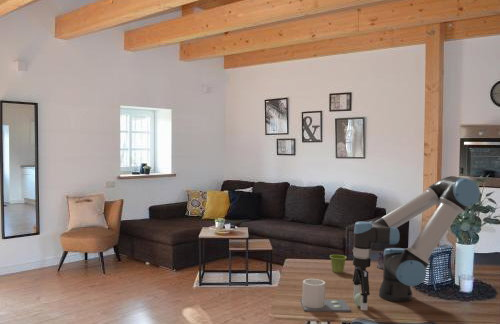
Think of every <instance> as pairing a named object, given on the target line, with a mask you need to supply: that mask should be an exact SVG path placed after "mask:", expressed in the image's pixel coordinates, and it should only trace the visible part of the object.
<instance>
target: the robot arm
mask: <svg viewBox="0 0 500 324" xmlns="http://www.w3.org/2000/svg"><path fill="white" fill-rule="evenodd" d="M480 196H481V191H480V188H479V185H478V184H477V182H475V180H473V179H470V178H469V177H460V176H453V175H451V176H446V177H443V178H441V179H439V180H438V181H436V182H434V183H433V184H431V185H430V186H428V187H426V189H425V191H423V192H421V194H419V195H417V196H416V197H414V198H412V199H410V200H408V201H407V202H405V203H404V204H402V205H400V206H398V207H397V208H395V209H393V210H392V211H390V212H389V213H387V214H385V215H383V216H382V217H379V219H377V220H371V221H360V220H359V221H356V222H355V224H354V227H353V228H354V230H353V249H352V251H351V252H353V259H352V265H353V266H354V271H353V275H352V282H353V300H354V297H355V295H356V294H358V293H361V294H360V295H361V307H360V311H368V303H369V296H370V295H371V293H370V281H369V271H367V268H370V267H371V261H372V260H371V257H372V245H389V246H390V245H397V244H398V243H399V242H400V239H401V238H400V231H399V229H398V227H400V226H402V225H404V224H405V223H407V222H410V220H412V219H414V218H416V217H417V216H419V215H421V214H422V213H424V212H426V211H428V210H429V209H431V208H433V207H434V206H437V208H435V210H434V212H433V214H432V215H431V216H430V218H429V220H428V221H427V223H426V224H425V225H424V227H423V229H422V230H421V232H420V233H419V235H418V236H417V237H416V239H415V240H414V241H413V243H412V245H411V246H410V247H407V248H401V247H387V248H384V250H383V251H384V252H383V254H384V255H383V256H384V268H383V269H382V271H383V275H382V276H383V277H382V282H381V284H380V287H379V290H378V296H379V297H380V298H382V299H384V300H386V301H387V300H388V301H391V302H398V303H399V302H401V303H403V302H411V301H412V300H413V291H412V288H411V287H415V286H418V285H420V284H422V283H423V282H424V281H425V279H426V277H427V268H428V267H429V265H430V261H429V258H430V256H431V254H433V253H434V251H435V249H436V248H437V246H438V244H439V243H440V242H441V240H442V239H443V237H444V236H445V234H446V233H447V232H448V230H449V228H450V227H451V225H452V224H453V222H454V221H455V220H456V218H457V217H458V215H459V214H464V213H465V212H466V210H467V209H468V207H471V206H473V205H475V204H476V203H477V202H478V201H479V199H480Z"/></svg>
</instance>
